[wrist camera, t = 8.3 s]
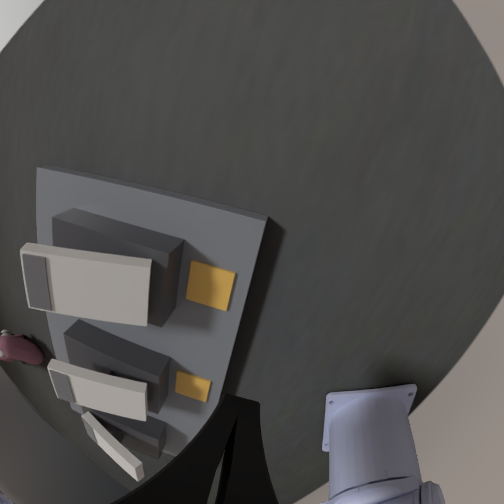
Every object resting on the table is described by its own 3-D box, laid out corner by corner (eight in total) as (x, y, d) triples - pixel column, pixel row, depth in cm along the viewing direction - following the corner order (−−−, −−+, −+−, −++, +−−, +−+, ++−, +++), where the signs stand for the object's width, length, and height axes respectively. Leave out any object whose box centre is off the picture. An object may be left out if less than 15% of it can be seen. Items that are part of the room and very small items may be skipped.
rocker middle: (147, 383, 20) (144, 394, 18) (147, 412, 21) (145, 422, 20) (51, 358, 18) (46, 368, 17) (61, 389, 20) (57, 398, 19)
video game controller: (40, 326, 29) (-6, 330, 22) (47, 363, 28) (3, 372, 21) (8, 329, 31) (-30, 331, 24) (14, 360, 30) (-23, 366, 24)
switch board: (268, 216, 18) (257, 241, 14) (203, 457, 30) (193, 487, 25) (47, 164, 19) (4, 175, 15) (76, 403, 31) (59, 426, 26)
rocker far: (142, 462, 21) (134, 469, 20) (144, 476, 23) (137, 482, 22) (88, 411, 24) (80, 415, 23) (94, 429, 26) (87, 434, 25)
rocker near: (151, 259, 16) (149, 269, 15) (148, 316, 18) (146, 327, 17) (27, 242, 14) (19, 250, 13) (34, 298, 15) (28, 308, 14)
